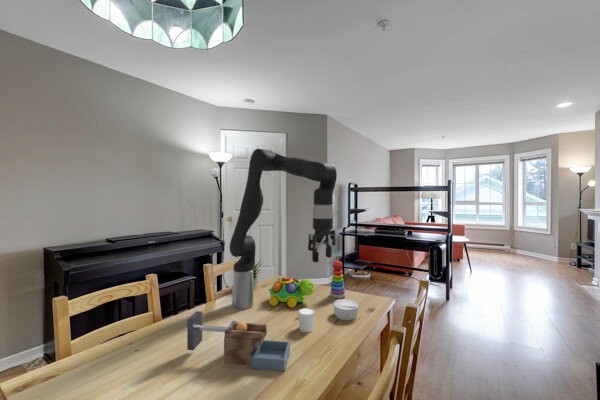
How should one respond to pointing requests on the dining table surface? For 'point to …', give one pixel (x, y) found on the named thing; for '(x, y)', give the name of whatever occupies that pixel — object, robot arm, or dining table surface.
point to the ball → (241, 326)
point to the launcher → (243, 343)
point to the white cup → (306, 319)
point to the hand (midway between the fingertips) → (322, 259)
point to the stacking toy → (337, 281)
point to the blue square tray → (271, 355)
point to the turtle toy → (290, 291)
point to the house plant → (255, 274)
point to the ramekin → (346, 309)
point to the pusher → (201, 329)
